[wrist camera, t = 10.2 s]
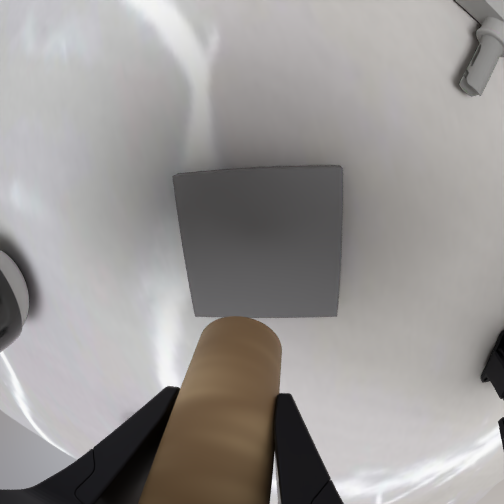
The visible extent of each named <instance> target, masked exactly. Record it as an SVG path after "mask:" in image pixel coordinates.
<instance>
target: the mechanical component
mask: <svg viewBox="0 0 504 504" xmlns="http://www.w3.org/2000/svg"><path fill="white" fill-rule="evenodd" d="M455 1H456V2H457V3H458V4H460V5H461V6H462V7H463V8H464V9H465V10H466V11H467V12H468V13H470V14H471V15H472V16H473V17H474V18H475V19H476V20H477V21H478V22H479V23H480V24H481V25H482V26H481V28H479V29H478V30H477V31H476V37H477V39H478V41H479V42H480V43H479V45H478V47H477V49H476V51H475V53H474V55H473V57H472V59H471V61H470V63H469V65H468V67H467V69H466V71H465V73H464V75H463V77H462V79H461V81H460V83H459V86H460V87H461V89H462V90H463V91H464V92H465V93H467V94H468V95H469V96H476V95H479V96H481V95H482V93H483V91H484V89H485V87H486V85H487V83H488V81H489V79H490V77H491V74H492V72H493V70H494V68H495V66H496V64H497V61H498V59H499V57H504V0H455Z"/></svg>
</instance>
